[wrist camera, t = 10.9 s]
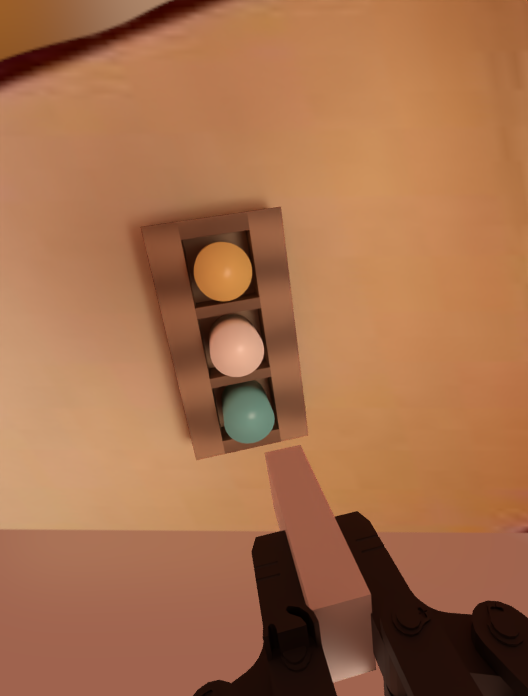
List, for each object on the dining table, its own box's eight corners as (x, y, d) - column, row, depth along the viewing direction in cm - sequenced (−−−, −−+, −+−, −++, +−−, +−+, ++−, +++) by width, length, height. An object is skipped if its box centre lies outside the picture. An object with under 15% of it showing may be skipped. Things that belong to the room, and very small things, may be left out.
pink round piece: (204, 318, 36) (205, 330, 31) (252, 310, 36) (259, 320, 31) (213, 363, 37) (215, 381, 32) (259, 354, 38) (267, 371, 33)
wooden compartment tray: (147, 228, 34) (140, 227, 30) (272, 210, 35) (280, 206, 31) (196, 439, 41) (196, 460, 37) (298, 417, 42) (308, 435, 38)
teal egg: (217, 382, 38) (219, 403, 33) (262, 374, 38) (270, 393, 34) (225, 422, 39) (228, 448, 34) (268, 413, 40) (277, 437, 35)
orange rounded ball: (190, 245, 33) (188, 246, 29) (240, 237, 34) (247, 237, 29) (200, 296, 35) (200, 305, 30) (248, 288, 35) (256, 296, 31)
